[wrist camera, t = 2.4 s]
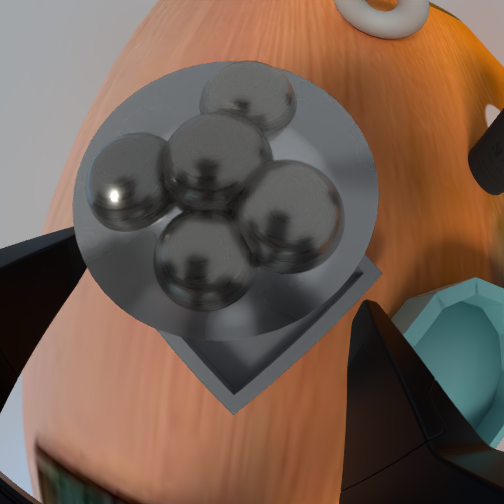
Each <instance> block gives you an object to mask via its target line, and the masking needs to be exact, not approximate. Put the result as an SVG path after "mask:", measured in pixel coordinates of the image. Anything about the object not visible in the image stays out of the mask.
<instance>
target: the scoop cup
mask: <svg viewBox="0 0 504 504" xmlns="http://www.w3.org/2000/svg"><path fill="white" fill-rule="evenodd" d="M378 200H379V192H378V177H377V172H376V168H375V163H374V159H373V156H372V154H371V151H370V148H369V145H368V143H367V141H366V139H365V137H364V135H363V134H362V132H361V130H360V128H359V127H358V125H357V124H356V122H355V121H354V120H353V118H352V117H351V115H350V114H349V113H348V112H347V111H346V110H345V109H344V108H343V107H342V106H341V104H340V103H339V102H338V101H336V100H335V99H334V98H333V97H332V96H330V95H329V94H328V93H327V92H326V91H324V90H323V89H321V88H320V87H318V86H317V85H315V84H314V83H312V82H310V81H308V80H306V79H304V78H302V77H300V76H298V75H296V74H294V73H291V72H288V71H286V70H283V69H280V68H276V67H272V66H270V65H268V64H266V63H262V62H258V61H239V62H235V61H229V62H213V63H207V64H201V65H196V66H192V67H188V68H184V69H181V70H178V71H176V72H173V73H170V74H168V75H165V76H163V77H161V78H159V79H157V80H155V81H153V82H151V83H149V84H148V85H146V86H144V87H143V88H141V89H140V90H138V91H137V92H135V93H134V94H133V95H131V96H130V97H129V98H128V99H126V100H125V101H124V102H123V103H122V104H121V105H120V106H118V107H117V108H116V109H115V110H114V111H113V112H112V113H111V114H110V116H109V117H108V118H107V119H106V120H105V122H104V123H103V124H102V125H101V127H100V128H99V130H98V131H97V133H96V134H95V136H94V137H93V139H92V140H91V142H90V144H89V146H88V148H87V150H86V152H85V154H84V156H83V159H82V162H81V165H80V167H79V170H78V174H77V178H76V183H75V187H74V196H73V223H74V229H75V234H76V239H77V243H78V246H79V249H80V252H81V255H82V257H83V260H84V262H85V264H86V266H87V268H88V269H89V271H90V273H91V275H92V277H93V278H94V279H95V281H96V282H97V283H98V285H99V286H100V287H101V289H102V290H103V291H104V293H105V294H106V295H107V296H108V297H109V298H110V299H112V300H113V301H114V302H115V303H116V304H117V305H118V306H119V307H120V308H121V309H123V310H124V311H126V312H127V313H128V314H130V315H131V316H133V317H134V318H136V319H137V320H139V321H141V322H143V323H145V324H147V325H149V326H151V327H153V328H155V329H157V330H160V331H164V332H167V333H170V334H173V335H176V336H179V337H185V338H192V339H198V340H222V341H228V340H236V339H243V338H250V337H255V336H258V335H262V334H265V333H269V332H272V331H276V330H278V329H280V328H283V327H285V326H287V325H289V324H292V323H294V322H296V321H298V320H300V319H302V318H303V317H305V316H306V315H308V314H309V313H311V312H312V311H314V310H316V309H317V308H319V307H320V306H321V305H322V304H324V303H325V302H326V301H327V300H328V299H329V298H330V297H332V296H333V295H334V294H335V293H336V292H337V291H338V290H339V289H340V288H341V287H342V285H343V284H344V283H345V282H346V281H347V280H348V278H349V277H350V276H351V275H352V274H353V272H354V270H355V269H356V267H357V266H358V264H359V262H360V261H361V259H362V257H363V256H364V254H365V251H366V249H367V247H368V244H369V242H370V239H371V237H372V234H373V230H374V226H375V222H376V218H377V211H378Z"/></svg>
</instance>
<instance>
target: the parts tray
mask: <svg viewBox="0 0 504 504" xmlns="http://www.w3.org/2000/svg"><path fill="white" fill-rule="evenodd" d="M381 275H382V272H381V271H380V270H379V269H378V268H377V266H376V265H375V264H374V263H373V262H372V261H371V260H370V259H369V258H368V257H367V256H366V254H364V256H363V257H362V259H361V261H360V262H359V264H358V266H357V267H356V269H355V270H354V272H353V274H352V275H351V276H350V277H349V278H348V280H347V281H346V282H345V283H344V284H343V285H342V287H341V288H340V289H339V290H338V291H337V292H336V293H335V294H334V295H333V296H332V297H330V298H329V299H328V300H327V301H326V302H325V303H324V304H322V305H321V306H320V307H319V308H317V309H316V310H314V311H312V312H311V313H309V314H308V315H306V316H305V317H303V318H302V319H300V320H298V321H296V322H294V323H292V324H289V325H287V326H285V327H283V328H280V329H278V330H276V331H272V332H269V333H265V334H262V335H258V336H255V337H250V338H243V339H236V340H228V341H222V340H198V339H192V338H185V337H179V336H176V335H173V334H170V333H167V332H164V331H160V330H157V329H156V330H157V331H158V332H159V333H160V335H161V336H162V337H163V338H164V339H165V341H166V342H167V343H168V344H169V345H170V347H171V348H172V349H173V350H174V351H175V353H176V354H177V355H178V356H179V357H180V358H181V360H182V361H183V362H184V363H185V364H186V365H187V366H188V368H189V369H190V370H191V371H192V372H193V373H194V374H195V375H196V377H197V378H198V379H199V380H200V381H201V382H202V383H203V384H204V385H205V386H206V387H207V389H208V390H209V391H210V392H211V393H212V394H213V395H214V396H215V397H216V398H217V399H218V400H219V401H220V402H221V403H222V404H223V405H224V406H225V407H226V408H227V409H228V410H229V411H230V412H231V413H232V414H233V415H234V414H235V413H236V412H238V411H239V410H240V409H242V408H243V407H244V406H245V405H246V404H248V403H249V402H250V401H251V400H253V399H254V398H255V397H256V396H257V395H259V394H260V393H261V392H262V391H263V390H265V389H266V388H267V387H268V386H269V385H270V384H272V383H273V382H274V381H275V380H276V379H277V378H278V377H280V376H281V375H282V374H283V373H284V372H285V371H286V370H287V369H289V368H290V367H291V366H292V365H293V364H294V363H295V362H296V361H297V360H298V359H299V358H301V357H302V356H303V355H304V354H305V353H306V352H307V351H308V350H309V349H310V348H311V347H312V346H313V345H314V344H315V343H316V342H317V341H319V340H320V339H321V338H322V337H323V336H324V335H325V334H326V333H327V332H328V331H329V330H330V329H331V328H332V327H333V326H334V325H335V324H336V323H337V322H338V321H339V320H340V319H341V318H342V317H343V316H344V315H345V314H346V312H347V311H348V310H349V309H350V308H351V307H352V306H353V305H354V304H355V303H356V302H357V301H358V300H359V299H360V298H361V297H362V296H363V294H364V293H365V292H366V291H367V290H368V289H369V288H370V287H371V286H372V285H373V284H374V282H375V281H376V280H377V279H378V278H379V277H380V276H381Z"/></svg>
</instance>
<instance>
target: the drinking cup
mask: <svg viewBox="0 0 504 504" xmlns="http://www.w3.org/2000/svg"><path fill="white" fill-rule="evenodd" d="M468 161H469V166H470V169H471V172H472V174H473V176H474V178H475V180H476V181H477V182H478V184H479V185H480V186H481V187H482V188H483V189H484V190H485V191H486V192H488V193H489V194H492V195H499V194H501V193H503V192H504V108H503V109H502V111H501V112H500V114H499V115H498V116H497V118H496V119H495V120H494V121H493V123H492V124H491V125H490V127H489V128H488V129H487V131H486V132H485V133H484V134H483V136H482V137H481V138H480V139H479V141H478V142H477V143H476V144H475V146H474V147H473V148H472V149H471V151H470V152H469V157H468Z"/></svg>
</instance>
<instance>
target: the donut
mask: <svg viewBox="0 0 504 504" xmlns="http://www.w3.org/2000/svg"><path fill="white" fill-rule="evenodd" d="M334 2H335V5H336V7H337V10H338V11H339V12H340V13H341V15H342V16H343V17H344V18H345V20H346V21H348V22H349V23H350V24H352V25H353V26H354V27H355V28H357V29H358V30H360V31H362V32H365V33H367V34H369V35H371V36H376V37H380V38H386V39H398V38H402V37H406V36H410V35H412V34H413V33H415V32H417V31H418V30H420V29H421V27H422V26H423V25H424V24H425V22H426V21H427V18H428V13H429V9H430V7H429V1H428V0H397V6H396V7H395V8H394V9H393V10H390V11H379V10H376V9H374V8H372V7H371V6H370V5H369V4H368V3H367V2H366V0H334Z"/></svg>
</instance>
